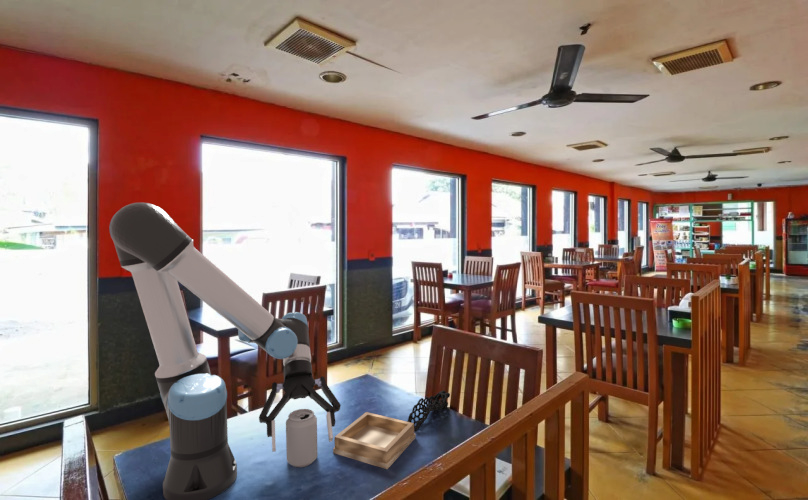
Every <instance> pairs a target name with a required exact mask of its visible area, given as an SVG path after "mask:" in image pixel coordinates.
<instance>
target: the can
mask: <svg viewBox="0 0 808 500" xmlns="http://www.w3.org/2000/svg"><path fill="white" fill-rule="evenodd" d="M285 438H286V439H285V443H286V461H287V463H288V464H289V465H291V466H292V467H295V468H303V467H307V466H309V465H312V463H314V462H315V460H316V459H317V458H318V417H317V415H315V412H314V411H313V410H312V409H309V408H299V409H296V410H293V411H292V412H291V411H290V413H289V414H288V417H287V419H286V421H285Z"/></svg>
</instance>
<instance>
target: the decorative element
mask: <svg viewBox="0 0 808 500" xmlns="http://www.w3.org/2000/svg"><path fill="white" fill-rule="evenodd" d="M450 397H451V393H449V392H446V390H441V391H438V392H437V393H436V394H435V395H434V396H433V395H431V396H429V397H428V396H425V398H423V397H421V398H420V399H419V400H418V401H417V403H416V404H415V405H413V407H412V410H411V412H410V413H409V415H408V418H407V421H406V422H411V423H414V432H416V431H417V430H419V429H420V428H421V427H422V426H423V424H424V423H425V421H426V420H427V419H428V417H429V415H430V413H431V412H435V411H438V410H442V409H443V408H445V409H446V408H448V406H449V402H448V401H447V399H449V398H450ZM417 412H418V413H417ZM413 415H414V416H413ZM421 415H422V417H420V416H421ZM416 419H417V420H416Z"/></svg>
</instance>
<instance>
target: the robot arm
mask: <svg viewBox="0 0 808 500" xmlns="http://www.w3.org/2000/svg"><path fill="white" fill-rule="evenodd" d="M109 234H110V238H111V239H112V241H113V244H114V248H115V251H116V254H117V257H118V260H119V261H118V262H119V264H120V267H121V268H122V269H124V270H127V271H128V272H130V273H131V277H132V279H133V282H134V283H133V284H134V286H135V289H136V292H137V296H138V298H139V302H140V305H141V309H142V312H143V315H144V318H145V323H146V325H147V328H148V331H149V334H150V338H151V341H152V342H151V343H152V344H153V349H154V350H155V354H156V358H157V361H158V364H159V366H158V367H157V369H156V370H155V372H154V376H155V379H156V380H155V381H156V382H157V387H158V390H159V392H160V393H159V394H160V399H161V401H162V404H163V406H164V409H165V413H166V415H167V419H168V427H169V445H170V446H169V447H170V457H169V462H168V465H167V468H166V472H165V476H164V478H163V481H162V495H163V497H164V499H165V500H209V499H210V500H211V499H212V498H214V497H217V496H219V495H220V494H222V493H223V492H225V491H226V490H228V489H229V488H230V487H231V486H232V485H233V484H234V482H235V481H236V479H237V475H238V465H237V460H236V459H235V456H234V454H233V452H232V450H231V447H230V445H229V439H228V437H229V436H228V435H229V434H228V408H227V399H228V391H227V388H226V382H225V381H224V379H223V378H222V377H221V376H218V375H216V374H212V373H211V370H210V369H211V368H210V365H209V362H208V359H207V356H206V355H205V354H203V353H200V352H198V348H197V345H196V342H195V338H194V336H193V335H194V334H193V331H192V327H191V324H190V320H189V316H188V314H187V310H186V307H185V303H184V299H183V296H182V293H181V289H180V286H179V284H181V285H182V286H184V288H186V289H187V290H189V291H190V292H191V293H192V294H193V295H195V296H196V297H197V298H199V299H200V300H201V301H203V302H204V303H205V304H206V305H207V306H208V307H210V309H212V310H213V311H215V312H216V313H217V314H219V316H221V317H222V318H223V319H225V320H226V321H228V323H230V324H231V325H232V326H234V327H235V328H236V329H237V330H238V331H237V332H238V333H237V335H238V336H237V337H238V339H239V341H240V342H246V343H248V344H251V343H253V344H256V345H257V346H259V347H260V348H261V349H262V350H263V351H265V352H266V353H267V354H268V355H269V356H270V357H272V358H274V359H277V360H282V363H283V383H277V382H275V381H274V382H272V385H271V391H270V393H269V395H268V397H267V400H266V401H265V404H264V406H263V407H262V410H261V412H260V414H259V416H258V421H259V423H260V424H266V436H267V438H271V448H272V449H271V450H272V453H274V452H276V450H277V447H276V420H275V419H276V418H277V416H278V415H279V413H280V412H281V411H282V410H283V408H285V405H287V403H288V402H289V401H290V400H291V399H293V400H299V399H306V398H307V397H309V398H310V399H311V400H313V401H314V402H315V403H316V404H318V405H319V406H320V407H321V408H322V409H323V410H324V411H325V412H326V415H325V416H326V417H325V418H326V426H327V435H328V437H327V438H328V442H329V443H331V442H333V439H334V435H333V427H335V426H336V417H335V413H337V412H340V410H341V406H342V405H341V403H340V402H339V399H337V398H336V396H335V394H334V393H333V391H332V390H331V388H330V387H329V385H328V384H327V382H326V377H325V376H323V375H322V376H320V378H316V379H314V377H313V367H312V355H311V347H310V345H311V344H310V335H309V330H310V328H309V325H308V319H307V316H306V315H305V314H303V313H301V312H298V311H295V312H288V313H285V315H283V316H282V317H281V318H277V317H275V316H274V315H273V314H272V313H271V312H270V311H268V310H267V309H266V308H265V307H263V306H262V305H261V304H260V302H258V301H257V300H256V299H255V298H253V296H251V295H250V294H249V293H248V292H247V291H245V290H244V289H243V288H242V287H240V285H239V284H237V283H236V282H235V281H234V280H233V279H231V278H230V277H229V276H228V275H227V274H226V273H224V271H222V270H221V269H220V268H219V267H217V265H216V264H214V263H213V262H212V261H211V260H209V258H207V257H206V256H205V255H204V254H202V253H201V251H199V250H198V249H196V247H195V246H194V239H192V238H191V237H190V235H188V234H187V232H185V231H184V230H183V229H182V228H181V227H180V226H179V225H178V223H176V222H175V220H174V219H173V218H172V217H171V216H170V215H169V214H168V213H167V212H166V211H165V210H164V209H163V208H161V207H160V206H158V205H155V204H154V203H153V204H152V203H149V202H132V203H130V204H127V205H125V206H123V207H121V208H120V209H119V210H118V211H116V213H115V214H114V215H113V216H112V218H111V220H110V222H109ZM315 386H317V387H318V388H320V390H321V391H322V392H323V394H324V395H325V397H326V399H325V398H323V396H322V395H320V394H319V393H318V392H317V391H316V390H315V388H314V387H315ZM281 390H283V391H284V394H283V396H282V397H281V398H280V400H279V401H278V403H277V404H276V405H275V407H273V409H272V410H271V412H270V413H269V411H270V409H271V407H272V405H273V404H274V401H275V399H276V397H277V394H278V393H280V391H281ZM327 400H328V401H329V402H328V401H327ZM268 413H269V414H268Z"/></svg>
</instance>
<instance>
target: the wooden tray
mask: <svg viewBox="0 0 808 500" xmlns="http://www.w3.org/2000/svg"><path fill="white" fill-rule="evenodd" d="M414 429H415V428H414V422H412V423H411V422H407V421H406V420H401V419H398V418H394V417H390V416H385V415H380V414H377V413H372V412H369V411H366V412H364V413H363V414H362V415H360V416H359V417H358V418H357V419H355V420H354V421H353V422H352V423H351V424H349V425H348V426H346V427H345V428H344V429H342V430H341V431H340V432H339V433H337V434H336V435H335V436H334V447H333V449H332V453H333V454H335V455H338V456H341V457H346V458H348V459H349V458H350V459H352V460H355V461H358V462H362V463H365V464H369V465H372V466H375V467H379V468H381V469H385V470H388V469H389V468H390V467H391V466H392V465H393V464H394V462H396V460H397V459H398V458H399V457H400V456H401V454H403V452H405V451H406V449H407V448H408V447H409V446H410V445H411V444H412V442H413V441H414V440H415V439H416V433H415V431H414Z"/></svg>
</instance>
